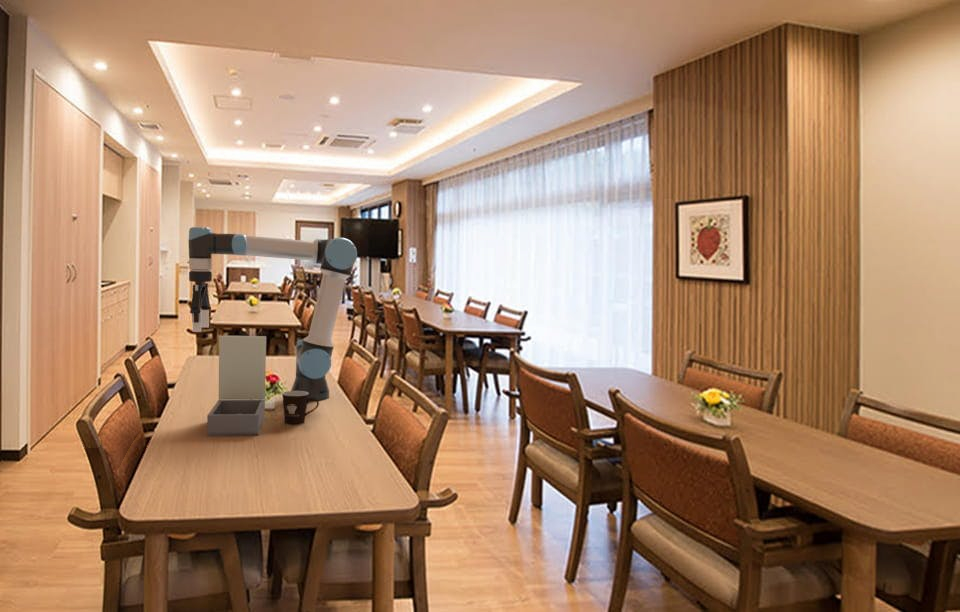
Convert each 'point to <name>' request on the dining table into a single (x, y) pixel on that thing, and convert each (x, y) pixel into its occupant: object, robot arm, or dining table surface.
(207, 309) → the robot arm
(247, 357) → the box lid
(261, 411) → the open storage box
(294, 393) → the coffee mug
